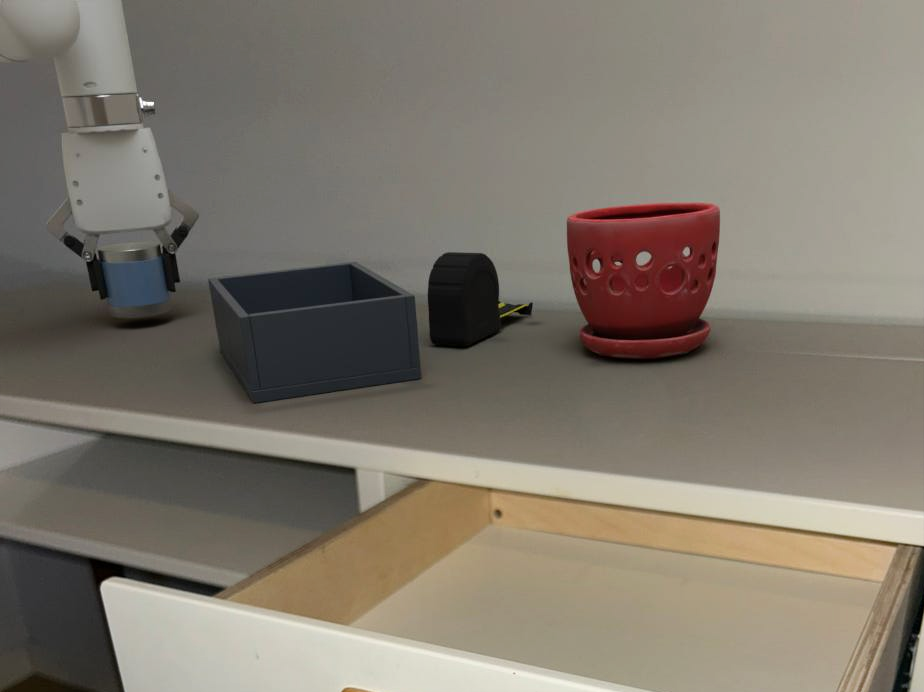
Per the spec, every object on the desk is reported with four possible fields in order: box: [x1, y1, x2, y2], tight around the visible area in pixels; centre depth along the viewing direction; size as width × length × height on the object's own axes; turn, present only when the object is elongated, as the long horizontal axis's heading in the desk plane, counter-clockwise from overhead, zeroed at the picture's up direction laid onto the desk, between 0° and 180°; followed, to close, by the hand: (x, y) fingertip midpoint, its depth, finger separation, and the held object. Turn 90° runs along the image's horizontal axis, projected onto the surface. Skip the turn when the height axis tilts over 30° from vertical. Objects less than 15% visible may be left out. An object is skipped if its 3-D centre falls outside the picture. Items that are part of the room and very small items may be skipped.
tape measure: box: [427, 251, 534, 347], centre depth 105 cm, size 15×4×8 cm, turn 152°
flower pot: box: [566, 202, 721, 360], centre depth 94 cm, size 13×13×12 cm
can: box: [97, 241, 172, 319], centre depth 118 cm, size 7×7×7 cm
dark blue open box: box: [207, 261, 422, 404], centre depth 97 cm, size 15×21×7 cm
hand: (137, 292), depth 119 cm, fingers closed on can, 6 cm apart
